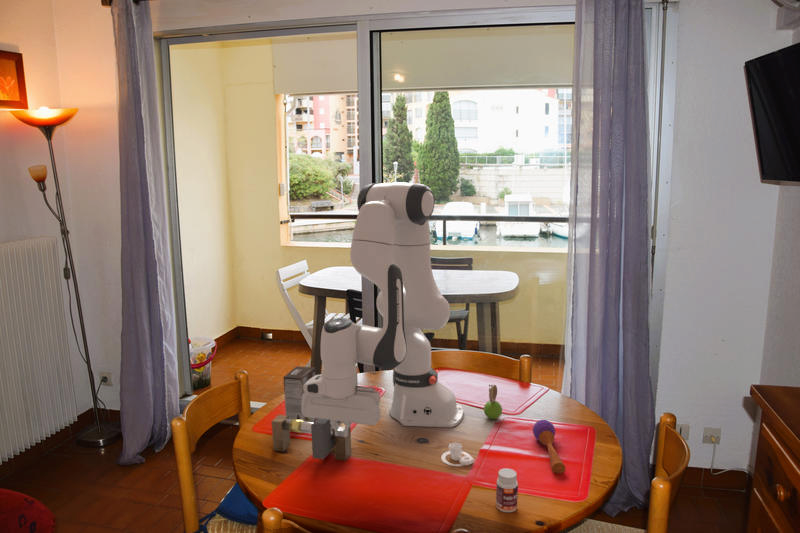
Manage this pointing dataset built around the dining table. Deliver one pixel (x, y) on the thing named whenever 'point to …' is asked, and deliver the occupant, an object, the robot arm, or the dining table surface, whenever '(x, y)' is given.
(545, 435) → the purple and brown maraca
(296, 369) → the coffee box
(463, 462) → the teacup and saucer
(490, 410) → the green feathered ball toy
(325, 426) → the grey flat block
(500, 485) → the pill bottle
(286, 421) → the rod stand
